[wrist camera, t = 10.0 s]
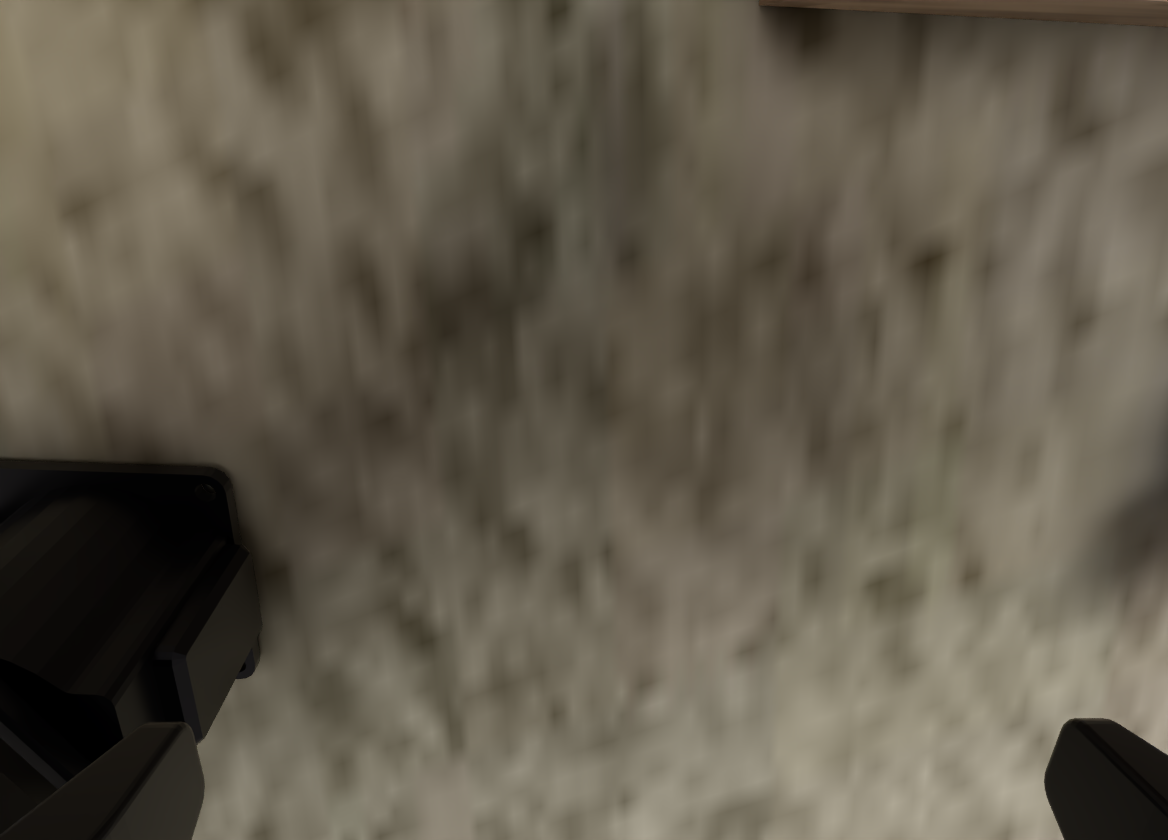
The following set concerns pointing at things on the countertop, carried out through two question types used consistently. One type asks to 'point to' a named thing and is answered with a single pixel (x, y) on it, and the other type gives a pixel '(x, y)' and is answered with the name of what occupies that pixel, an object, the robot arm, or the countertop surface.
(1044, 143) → the countertop surface
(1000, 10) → the box
